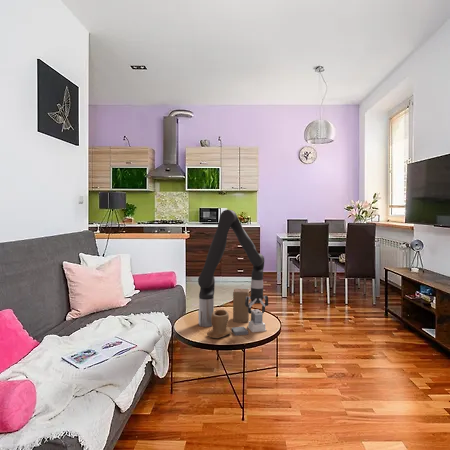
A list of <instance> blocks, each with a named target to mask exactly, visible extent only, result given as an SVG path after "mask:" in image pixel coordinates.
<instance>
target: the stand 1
mask: <svg viewBox="0 0 450 450" xmlns="http://www.w3.org/2000/svg"><path fill="white" fill-rule="evenodd" d="M230 330H231V331H232V334H233V335H234V336H244V335H245V336H246V335H249V330H248V328H246V327H245V326H235V327H230Z"/></svg>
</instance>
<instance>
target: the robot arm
mask: <svg viewBox="0 0 450 450" xmlns="http://www.w3.org/2000/svg"><path fill="white" fill-rule="evenodd" d="M230 229H231V230H232V231H233V232H234V234H235V237H236V239H237V240H238V241H237V242H238V243H239V244H240V247H241V248H242V249H243V250H244V252H245V254H246V257H247V259H248V260H249V262H250V263H251V264H252V270H251V281H250V295H249V297H247V296H246V298H245V306H246V307H248V312H249V315H251V310H252V306H254V304H255V305H256V304H261V312H262V313H263V314H265V312H266V307H268V306H269V296H268V295H266V294H265V295H264V268H265V256H264V255H263V254H262V253H258V251H257V249H256V247H257V246H256V245H255V244H254V242H253V241H252V239H251V238H250V236H249V234H248V233H247V232H246V230H245V229H244V226H242V223H241V221H240V219H239V217H238V215H237V213H236V212H235V211H234V210H232V209H225V210H223V211H222V212H221V213H220V216H219V219H218V224H217V228H216V231H215V233H214V235H213V237H212V238H213V239H212V241H211V244H210V246H209V249H208V252H207V255H206V259H205V261H204V266H203V268H202V270H201V272H200V275H199V276H198V279H197V282H198V283H197V284H198V286H199V288H200V290H199V293H198V326H199V327H204V328H208V327H212V323H211V315H212V313H213V312H214V311H215V307H214V306H215V305H214V304H215V302H214V301H215V299H214V298H215V297H214V296H215V283H216V282H215V276H214V275H215V271H216V269H217V267H218V266H219V264H220V262H221V259H222V258H223V257H224V256H223V255H224V252H225V250H226V247H227V242H228V241H227V240H228V234H229V231H230ZM248 301H249V304H248Z"/></svg>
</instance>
